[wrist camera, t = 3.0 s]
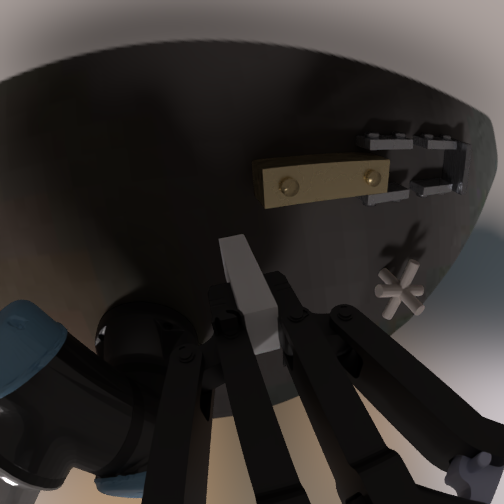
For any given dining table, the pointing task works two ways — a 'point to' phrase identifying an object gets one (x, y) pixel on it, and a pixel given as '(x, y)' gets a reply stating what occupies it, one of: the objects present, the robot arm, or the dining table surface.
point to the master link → (318, 177)
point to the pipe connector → (400, 290)
